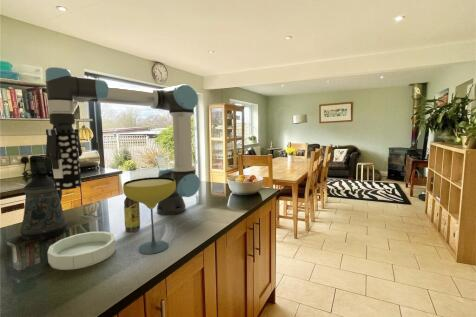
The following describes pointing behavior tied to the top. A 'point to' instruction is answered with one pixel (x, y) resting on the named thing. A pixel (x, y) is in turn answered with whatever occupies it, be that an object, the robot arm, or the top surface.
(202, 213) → the top surface
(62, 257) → the bowl
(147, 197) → the cocktail glass
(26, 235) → the beer stein
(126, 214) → the sauce bottle
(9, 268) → the top surface
